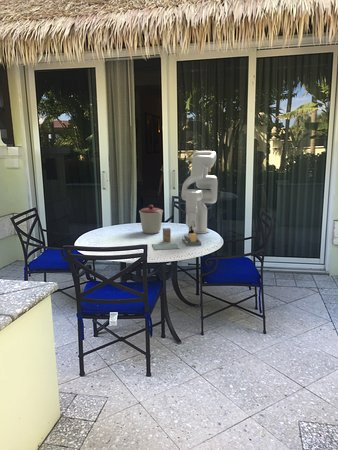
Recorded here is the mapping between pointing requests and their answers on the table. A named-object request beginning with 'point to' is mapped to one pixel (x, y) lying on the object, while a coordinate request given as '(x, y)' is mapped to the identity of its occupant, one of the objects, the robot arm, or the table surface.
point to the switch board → (188, 241)
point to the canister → (151, 219)
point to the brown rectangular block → (166, 234)
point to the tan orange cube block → (192, 237)
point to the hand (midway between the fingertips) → (191, 236)
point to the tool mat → (165, 246)
